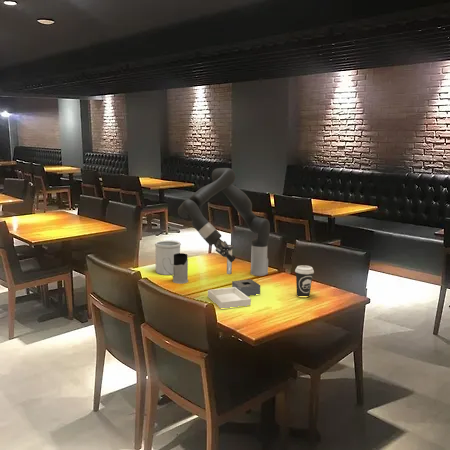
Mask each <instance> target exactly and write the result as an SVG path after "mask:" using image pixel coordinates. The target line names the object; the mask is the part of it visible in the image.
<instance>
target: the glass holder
mask: <svg viewBox="0 0 450 450" xmlns="http://www.w3.org/2000/svg"><path fill="white" fill-rule="evenodd" d="M165 258H169V257H165ZM165 258H164V259H165ZM164 259H163V260H164ZM169 259H170V258H169ZM188 261H189V260H188V254H187V253H183V252H182V253H181V252H180V253H177V254H174V264H171V260H170V264H171V265H173V274H170V273H169V272H168V271H167V270H166V269H165V267H164V264H163V267H164V269H165V270H166V271H167V272H168V273H169V274H170V275H169V276H172V282H173V283H174V284H180V285H182V284H187V283H189V279H188V277H189V276H188V274H189V273H188V270H189V266H188V265H189V263H188Z"/></svg>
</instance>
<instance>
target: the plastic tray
mask: <svg viewBox="0 0 450 450" xmlns="http://www.w3.org/2000/svg"><path fill="white" fill-rule="evenodd" d="M207 298H208V299H210V300H211V301H212V302H213V303H214V304H215V303H216V304H217V305H218V306H219V307H218V306H217V305H216V304H215V305H216V306H217V307H218V308H219V309H221V308H230V307H238V306H245V307H248V306H247V305H251V302H252V299H251V298H250V296H246V295H245V294H244V293H242V292H241V291H240V290H238V289H237V288H236V287H232V286H231V287H223V288H216V289H215V288H213V289H207ZM238 308H239V307H238ZM230 309H231V308H230Z"/></svg>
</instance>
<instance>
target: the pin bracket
mask: <svg viewBox="0 0 450 450" xmlns="http://www.w3.org/2000/svg"><path fill="white" fill-rule="evenodd" d="M231 287H236V288H237V289H238V290H240V291H241V292H242V293H244V294H245V295H246V296H248V297H250V295H254V296H257V295H256V294H260V295H261V284H259V283H257V282H256V281H255V280H253V279H251V278H250V279H242V280H232V282H231Z"/></svg>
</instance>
